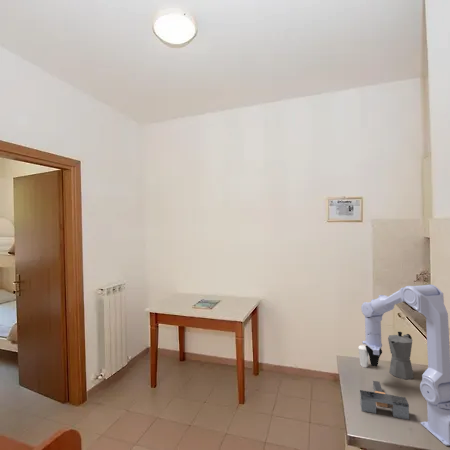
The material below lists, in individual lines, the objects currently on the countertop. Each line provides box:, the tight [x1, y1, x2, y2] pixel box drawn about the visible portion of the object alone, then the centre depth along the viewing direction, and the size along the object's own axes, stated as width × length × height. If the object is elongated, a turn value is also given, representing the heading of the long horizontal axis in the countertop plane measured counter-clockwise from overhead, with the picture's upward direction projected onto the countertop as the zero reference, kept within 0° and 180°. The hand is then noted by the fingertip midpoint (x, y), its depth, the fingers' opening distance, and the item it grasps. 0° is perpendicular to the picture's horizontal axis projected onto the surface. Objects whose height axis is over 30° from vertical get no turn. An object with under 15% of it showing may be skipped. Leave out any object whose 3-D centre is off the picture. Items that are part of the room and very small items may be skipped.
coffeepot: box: [387, 331, 414, 380], centre depth 120 cm, size 15×9×18 cm, turn 121°
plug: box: [372, 380, 389, 408], centre depth 103 cm, size 12×3×3 cm, turn 160°
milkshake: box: [357, 344, 370, 369], centre depth 127 cm, size 4×5×10 cm
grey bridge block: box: [359, 389, 410, 421], centre depth 95 cm, size 4×14×5 cm, turn 70°
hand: (374, 365), depth 113 cm, fingers closed
